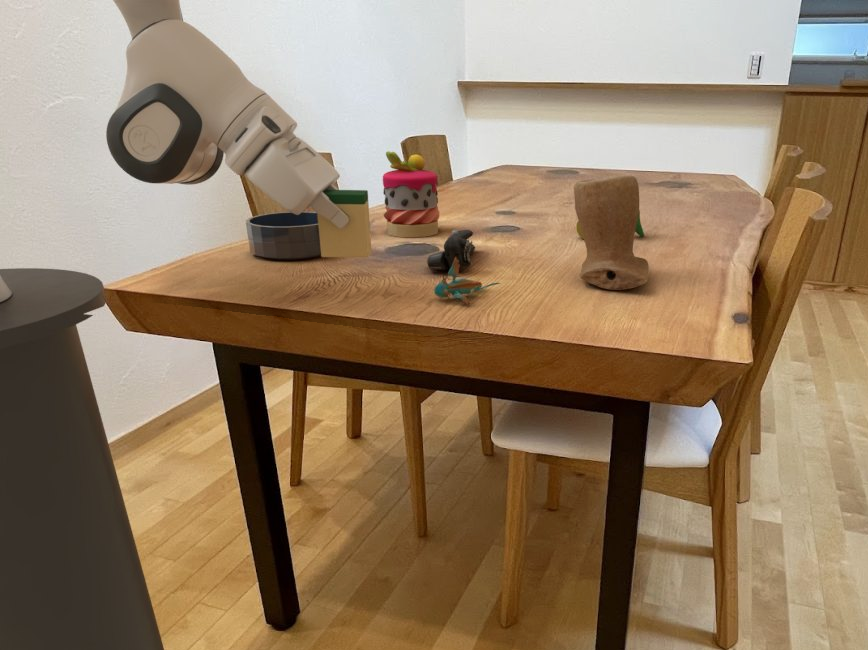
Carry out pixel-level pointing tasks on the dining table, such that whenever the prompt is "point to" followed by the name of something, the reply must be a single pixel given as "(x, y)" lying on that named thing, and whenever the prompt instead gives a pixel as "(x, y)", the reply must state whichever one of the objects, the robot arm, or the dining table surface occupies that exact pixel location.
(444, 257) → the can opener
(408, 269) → the dining table surface
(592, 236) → the brown clay sculpture
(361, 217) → the sponge
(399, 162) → the cake
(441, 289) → the dragon figurine
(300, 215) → the bowl
